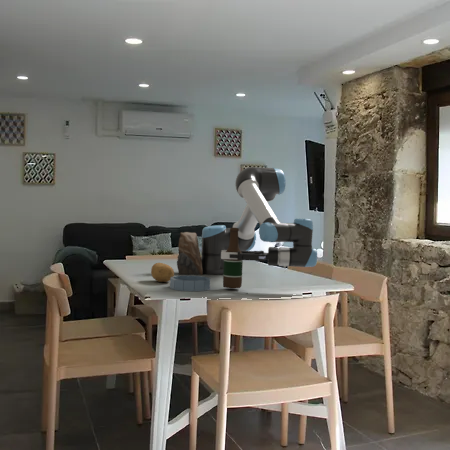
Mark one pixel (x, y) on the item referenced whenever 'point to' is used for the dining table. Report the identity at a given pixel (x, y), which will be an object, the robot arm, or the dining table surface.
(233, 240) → the beer bottle
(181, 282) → the bowl
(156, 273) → the potato
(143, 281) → the dining table surface
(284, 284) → the dining table surface
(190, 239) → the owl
